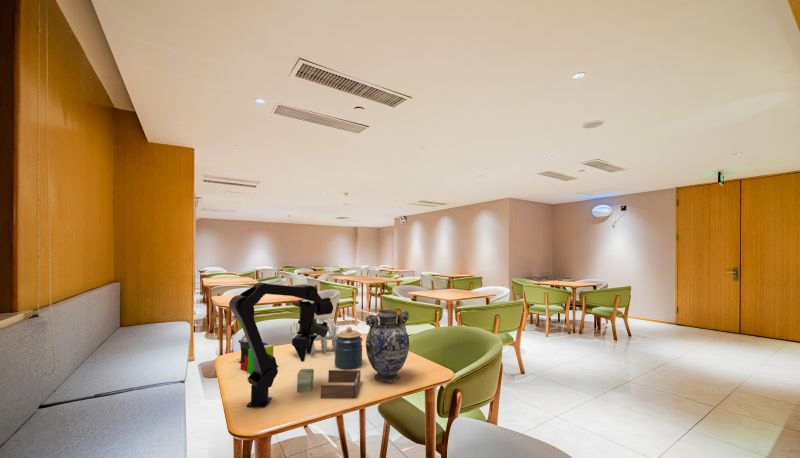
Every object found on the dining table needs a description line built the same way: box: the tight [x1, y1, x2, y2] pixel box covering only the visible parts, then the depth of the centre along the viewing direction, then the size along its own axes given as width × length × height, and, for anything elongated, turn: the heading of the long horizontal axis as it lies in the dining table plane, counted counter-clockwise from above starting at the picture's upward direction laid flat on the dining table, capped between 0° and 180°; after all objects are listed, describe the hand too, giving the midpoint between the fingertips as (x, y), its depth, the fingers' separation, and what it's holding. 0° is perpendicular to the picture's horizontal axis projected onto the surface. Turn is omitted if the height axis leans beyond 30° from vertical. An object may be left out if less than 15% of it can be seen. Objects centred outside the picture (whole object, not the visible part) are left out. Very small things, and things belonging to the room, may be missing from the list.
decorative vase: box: [365, 309, 410, 383], centre depth 144 cm, size 21×19×28 cm
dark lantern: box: [238, 334, 249, 364], centre depth 162 cm, size 7×7×15 cm
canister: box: [334, 326, 363, 370], centre depth 159 cm, size 13×13×18 cm
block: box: [296, 368, 315, 393], centre depth 131 cm, size 5×5×7 cm
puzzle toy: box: [240, 341, 274, 375], centre depth 153 cm, size 10×10×10 cm
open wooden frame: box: [319, 369, 361, 399], centre depth 131 cm, size 16×13×4 cm
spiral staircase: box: [289, 317, 341, 356], centre depth 177 cm, size 18×18×25 cm
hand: (305, 357), depth 131 cm, fingers open, 9 cm apart
